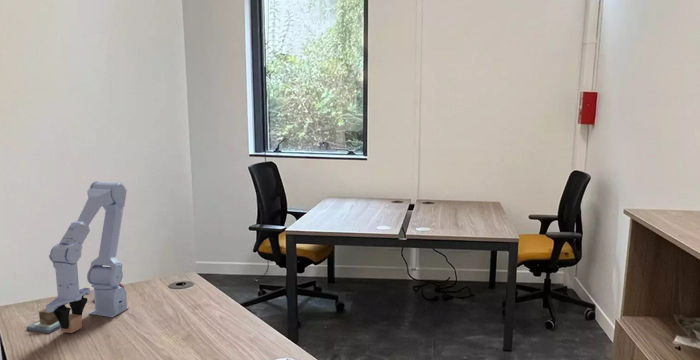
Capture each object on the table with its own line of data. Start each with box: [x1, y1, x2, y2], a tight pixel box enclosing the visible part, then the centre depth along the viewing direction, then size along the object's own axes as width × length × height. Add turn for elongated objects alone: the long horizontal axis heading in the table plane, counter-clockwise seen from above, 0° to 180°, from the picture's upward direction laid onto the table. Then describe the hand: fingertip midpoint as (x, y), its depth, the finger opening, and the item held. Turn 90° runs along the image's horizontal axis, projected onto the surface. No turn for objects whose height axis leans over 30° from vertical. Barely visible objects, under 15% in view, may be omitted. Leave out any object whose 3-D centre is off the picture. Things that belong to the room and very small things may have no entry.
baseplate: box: [26, 319, 61, 334], centre depth 152 cm, size 9×9×1 cm
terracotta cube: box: [60, 313, 83, 334], centre depth 148 cm, size 4×4×4 cm
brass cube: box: [38, 308, 58, 325], centre depth 152 cm, size 4×4×4 cm
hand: (71, 324), depth 148 cm, fingers closed on terracotta cube, 4 cm apart
